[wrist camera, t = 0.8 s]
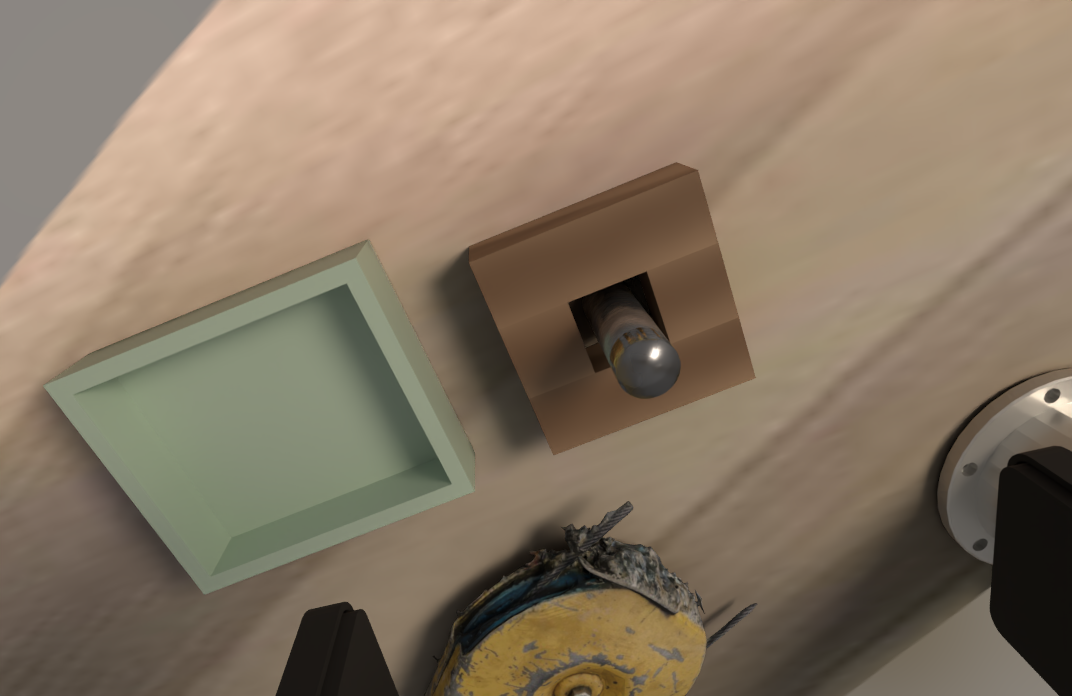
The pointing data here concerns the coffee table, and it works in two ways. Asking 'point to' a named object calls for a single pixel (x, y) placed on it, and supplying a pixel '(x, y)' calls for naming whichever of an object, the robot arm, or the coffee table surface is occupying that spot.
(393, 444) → the tray
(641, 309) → the pin
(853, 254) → the coffee table surface
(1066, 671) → the robot arm
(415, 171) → the coffee table surface
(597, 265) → the block
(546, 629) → the pulley block
